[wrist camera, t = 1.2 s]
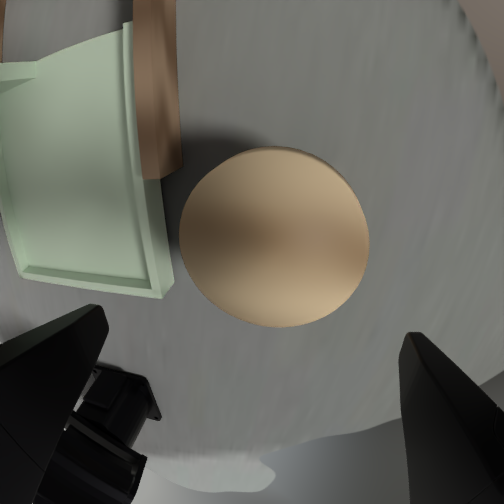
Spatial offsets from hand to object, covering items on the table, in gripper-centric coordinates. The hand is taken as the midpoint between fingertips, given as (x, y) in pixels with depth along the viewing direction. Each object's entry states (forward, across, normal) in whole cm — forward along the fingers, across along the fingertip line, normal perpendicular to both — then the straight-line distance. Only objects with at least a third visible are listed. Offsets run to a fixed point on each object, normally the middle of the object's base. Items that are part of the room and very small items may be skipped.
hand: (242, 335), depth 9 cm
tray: (+10, +14, -3) cm, 18 cm away
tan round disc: (+7, 0, 0) cm, 7 cm away
